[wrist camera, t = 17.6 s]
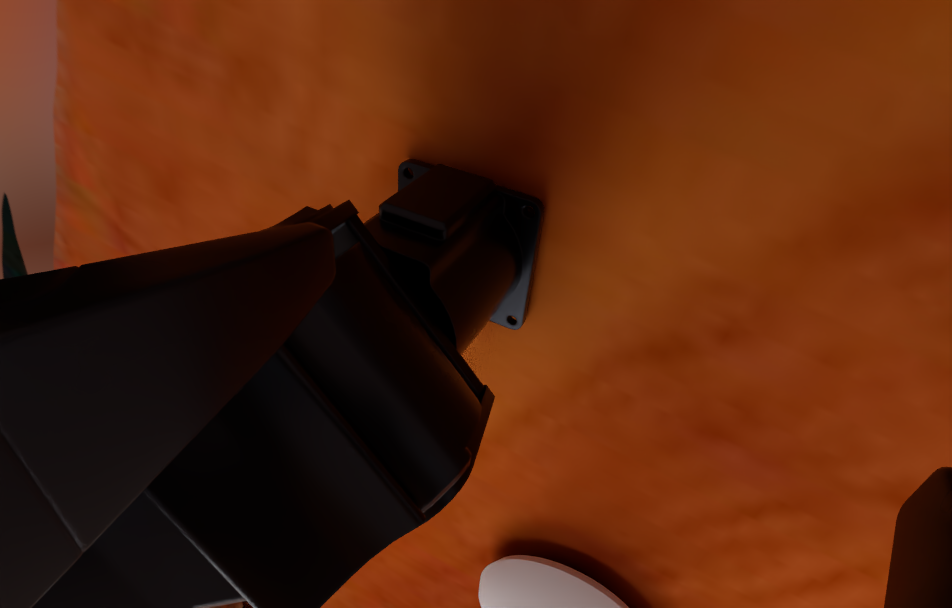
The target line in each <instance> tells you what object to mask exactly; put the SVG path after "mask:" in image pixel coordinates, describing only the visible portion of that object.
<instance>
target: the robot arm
mask: <svg viewBox="0 0 952 608" xmlns="http://www.w3.org/2000/svg"><path fill="white" fill-rule="evenodd" d="M408 168H410V169H411V170H412V171H413V175H414V176H413V175H411V174H410V172H409V169H408ZM527 206H530V207H532V208H533V209H534V211H535V214H531V213H530V212H529V211H528V210H527ZM544 212H545V211H544V205H543V203H542V202H541V201H540V200H539V199H538V198H536V197H534V196H531V195H528V194H524V193H521V192H518V191H515V190H512V189H508V188H505V187H502V186H499V185H496V184H495V183H494V182H493V181H492V180H491V179H488V178H484V177H481V176H478V175H475V174H471V173H468V172H465V171H462V170H458V169H455V168H452V167H449V166H446V165H442V164H437V165H436V166H435V165H431V164H428V163H425V162H422V161H419V160H415V159H408V160H406V161H404V162H402V163H401V164H400V166H399V169H398V192H397V193H396V194H394V195H393V196H391V197H390V198H388V199H387V200H385V201H384V202H383V203H381V204H380V205H379V213H378V214H376V215H375V216H374V217H372V218H371V219H369V220H368V221H366V222H365V223H364V224H363V222H362V221H361V220H360V218H359V217H358V216H357V214H358V213H359V212H358V211H357V209H356V208H355V207H354V205H353V204H352V203H351V201H350V200H348V201H346V202H344V203H342V204H340V205H339V206H337V207H335V208H333V207H332V206H331V204H329V205H327V206H326V207H324V208H322V209H320V210H316V209H313V208H310V207H308V206H307V207H305V208H303V209H302V210H300V211H298V212H297V213H295V214H293V215H292V216H290V217H288V218H287V219H285V220H283V221H282V222H280V223H278V224H276V225H274V226H272V227H270V228H267V229H264V230H261V231H258V232H253V233H247V234H242V235H237V236H232V237H226V238H221V239H216V240H210V241H205V242H200V243H195V244H189V245H184V246H179V247H174V248H168V249H163V250H158V251H153V252H147V253H142V254H137V255H131V256H126V257H121V258H116V259H110V260H105V261H100V262H95V263H89V264H84V265H81V266H80V267H77V266H73V267H68V268H62V269H57V270H52V271H47V272H41V273H35V274H29V275H24V276H18V277H12V278H7V279H0V608H210V607H216V606H221V605H227V604H232V603H238V602H243V601H247V602H248V603H249V604H250V605H251V606H252V607H253V608H320V607H321V606H322V605H323V604H324V603H325V602H326V601H327V600H328V599H329V598H330V597H331V596H332V595H333V594H334V593H335V592H336V591H337V590H338V589H339V588H340V587H341V586H342V585H343V584H344V583H345V582H346V581H347V580H348V579H349V578H350V577H351V576H353V575H354V574H355V573H356V572H357V571H358V570H359V569H360V568H361V567H362V566H363V565H364V564H365V563H367V562H368V561H369V560H370V559H371V558H373V557H374V556H375V555H377V554H378V553H379V552H380V551H382V550H383V549H384V548H386V547H387V546H388V545H389V544H391V543H392V542H394V541H395V540H397V539H399V538H400V537H402V536H404V535H405V534H407V533H409V532H410V531H412V530H414V529H415V528H417V527H419V526H420V525H422V524H424V523H425V522H427V521H428V520H430V519H431V518H432V517H433V516H435V515H436V514H437V513H439V512H440V511H441V510H442V509H443V508H444V507H445V506H446V505H447V504H448V503H449V502H450V501H451V500H452V499H453V498H454V497H455V496H456V494H457V493H458V492H459V491H460V490H461V488H462V487H463V485H464V484H465V482H466V481H467V479H468V477H469V475H470V473H471V471H472V468H473V466H474V462H475V459H476V456H477V453H478V450H479V446H480V443H481V440H482V437H483V434H484V430H485V427H486V424H487V421H488V418H489V414H490V411H491V408H492V405H493V402H494V398H495V396H494V395H493V393H492V392H491V390H490V389H489V388H488V386H487V385H483V384H482V383H481V382H480V380H479V379H478V378H477V376H476V375H475V373H474V372H473V371H472V369H471V368H470V367H469V365H468V364H467V363H466V361H465V360H464V359H463V357H462V356H461V354H462V353H463V352H464V351H465V349H466V348H467V347H468V346H469V344H470V343H471V342H472V341H473V340H474V338H475V337H476V336H477V335H478V333H479V332H480V331H481V330H482V329H483V327H484V326H485V325H486V324H487V322H488V321H489V320H490V321H492V322H495V323H497V324H500V325H502V326H505V327H507V328H510V329H514V330H516V329H519V328H520V327H521V326H522V325H523V324H524V322H525V320H526V315H527V309H528V303H529V298H530V292H531V286H532V280H533V275H534V269H535V263H536V258H537V252H538V246H539V241H540V235H541V229H542V223H543V218H544ZM511 316H513V317H515V318H516V320H514V319H513V318H512V317H511ZM884 608H952V468H951V467H941V468H939V469H937V470H936V471H935V472H933V473H932V474H931V475H930V476H929V478H928V479H927V480H926V481H925V482H924V483H923V484H922V485H921V486H920V487H919V488H918V489H917V490H916V491H915V492H914V493H913V494H912V495H911V496H910V497H909V498H908V499H907V500H906V501H905V503H904V504H903V505H902V507H901V509H900V511H899V513H898V516H897V520H896V526H895V533H894V540H893V548H892V555H891V562H890V569H889V576H888V583H887V590H886V597H885V604H884Z"/></svg>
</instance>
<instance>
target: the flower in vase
mask: <svg viewBox="0 0 952 608" xmlns="http://www.w3.org/2000/svg"><path fill="white" fill-rule="evenodd" d="M479 601H480V605H481V608H629V607H628V606H627V605H626V604H625V603H624V602H623V601H622V600H620V599H619V598H618V597H617V596H616V595H615V594H613V593H612V592H611V591H609V590H608V589H607V588H605V587H604V586H603V585H601V584H599V583H598V582H596V581H595V580H593V579H592V578H590V577H588V576H586V575H584V574H583V573H581V572H579V571H577V570H574V569H572V568H570V567H568V566H565V565H563V564H560V563H558V562H555V561H552V560H548V559H544V558H540V557H535V556H528V555H513V556H507V557H504V558H501V559H499V560H497V561H495V562H493V563H491V564H489V565H488V566H487V567H486V568H485V569H484V570H483V572H482V574H481V577H480V585H479Z"/></svg>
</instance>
